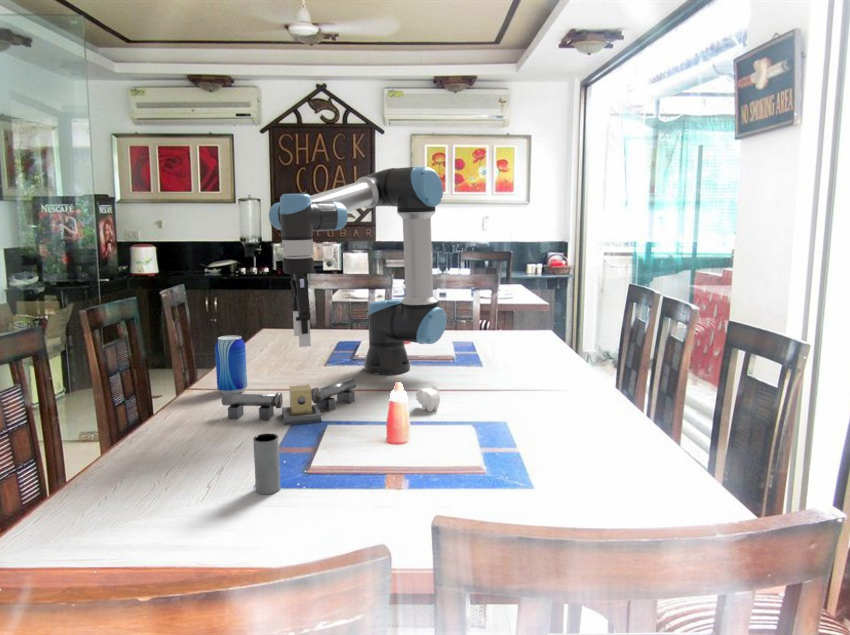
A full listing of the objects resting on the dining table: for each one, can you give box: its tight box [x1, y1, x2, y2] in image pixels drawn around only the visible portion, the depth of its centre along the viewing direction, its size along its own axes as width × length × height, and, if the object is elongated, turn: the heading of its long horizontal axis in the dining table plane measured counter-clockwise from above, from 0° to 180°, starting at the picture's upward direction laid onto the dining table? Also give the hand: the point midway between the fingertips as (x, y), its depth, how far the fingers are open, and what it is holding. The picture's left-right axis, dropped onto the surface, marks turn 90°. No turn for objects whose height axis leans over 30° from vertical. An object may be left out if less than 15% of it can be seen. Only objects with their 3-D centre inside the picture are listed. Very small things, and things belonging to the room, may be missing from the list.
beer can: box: [214, 334, 248, 395], centre depth 190 cm, size 8×8×16 cm
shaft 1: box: [220, 392, 284, 421], centre depth 166 cm, size 15×4×6 cm, turn 86°
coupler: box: [288, 384, 313, 416], centre depth 165 cm, size 6×5×7 cm
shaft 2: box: [311, 377, 358, 412], centre depth 176 cm, size 15×4×6 cm, turn 146°
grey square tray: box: [281, 404, 322, 426], centre depth 166 cm, size 9×9×2 cm
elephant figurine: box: [415, 385, 441, 412], centre depth 172 cm, size 7×8×6 cm
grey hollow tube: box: [252, 432, 281, 495], centre depth 123 cm, size 4×4×10 cm
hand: (302, 340), depth 166 cm, fingers open, 13 cm apart
